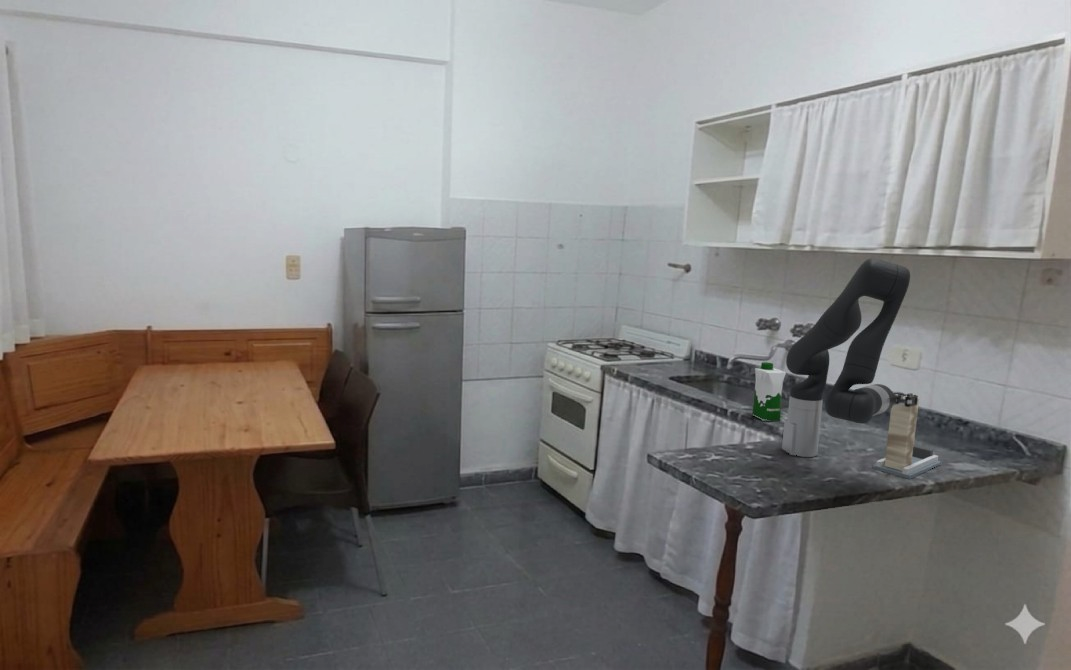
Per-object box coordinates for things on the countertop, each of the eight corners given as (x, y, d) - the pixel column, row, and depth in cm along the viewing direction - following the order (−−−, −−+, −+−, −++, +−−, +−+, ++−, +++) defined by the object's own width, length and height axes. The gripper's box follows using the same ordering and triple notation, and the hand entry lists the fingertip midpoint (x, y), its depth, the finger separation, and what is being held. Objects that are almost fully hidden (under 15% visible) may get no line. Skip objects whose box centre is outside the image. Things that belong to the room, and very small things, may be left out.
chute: (909, 479, 178) (911, 465, 178) (872, 468, 186) (874, 454, 186) (940, 464, 191) (942, 451, 191) (904, 455, 199) (906, 442, 198)
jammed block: (903, 471, 181) (911, 400, 178) (884, 465, 185) (892, 397, 182) (910, 467, 184) (919, 398, 181) (892, 462, 188) (900, 395, 185)
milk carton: (769, 414, 242) (773, 361, 239) (784, 421, 233) (789, 366, 230) (748, 415, 239) (752, 362, 236) (763, 422, 231) (768, 367, 228)
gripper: (905, 389, 161) (924, 384, 172) (845, 381, 171) (867, 377, 182) (902, 419, 161) (921, 412, 173) (843, 409, 172) (864, 404, 183)
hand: (893, 394), depth 178 cm, fingers open, 8 cm apart
